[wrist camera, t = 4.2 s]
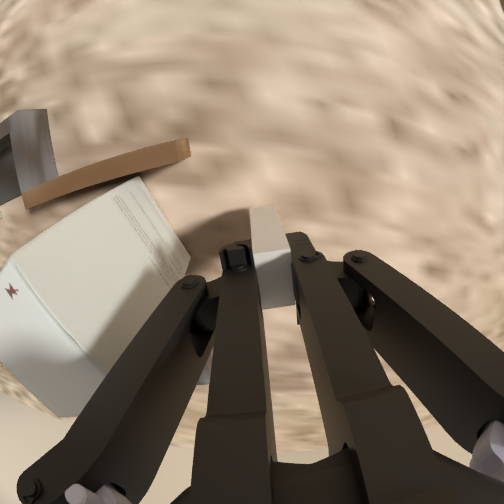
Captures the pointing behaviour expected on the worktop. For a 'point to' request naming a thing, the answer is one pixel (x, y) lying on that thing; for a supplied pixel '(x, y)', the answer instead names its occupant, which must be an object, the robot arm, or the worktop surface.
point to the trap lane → (51, 186)
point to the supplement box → (85, 294)
